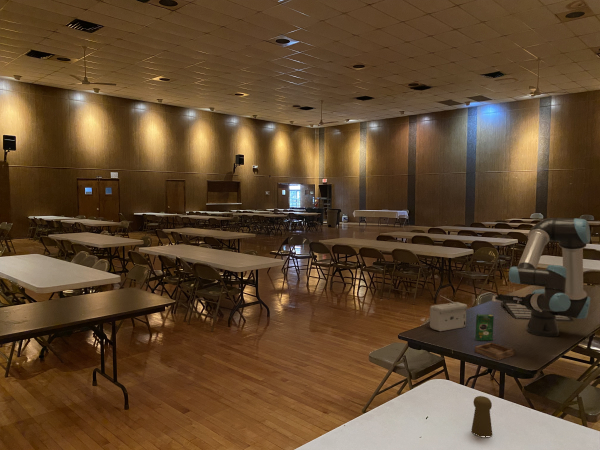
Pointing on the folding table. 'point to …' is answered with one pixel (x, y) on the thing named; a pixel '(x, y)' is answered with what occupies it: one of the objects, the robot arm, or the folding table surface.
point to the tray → (494, 351)
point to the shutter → (525, 312)
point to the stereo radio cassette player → (448, 316)
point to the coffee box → (484, 327)
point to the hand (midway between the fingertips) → (505, 301)
